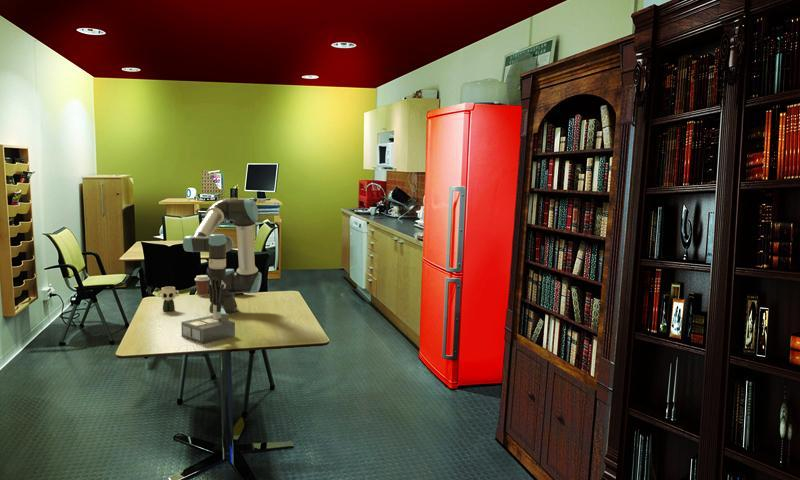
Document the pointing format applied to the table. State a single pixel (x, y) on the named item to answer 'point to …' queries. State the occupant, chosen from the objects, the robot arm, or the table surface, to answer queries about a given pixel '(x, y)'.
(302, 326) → the table surface
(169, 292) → the big eared figurine
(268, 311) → the table surface
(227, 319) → the cable arm
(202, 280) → the coffee cup
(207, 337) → the box
